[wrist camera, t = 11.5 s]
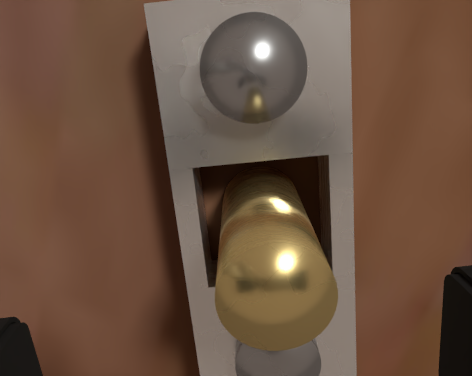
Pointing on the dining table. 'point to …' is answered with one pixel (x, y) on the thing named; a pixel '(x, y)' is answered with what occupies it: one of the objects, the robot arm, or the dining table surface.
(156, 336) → the dining table surface
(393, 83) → the dining table surface
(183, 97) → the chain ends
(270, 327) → the pin
